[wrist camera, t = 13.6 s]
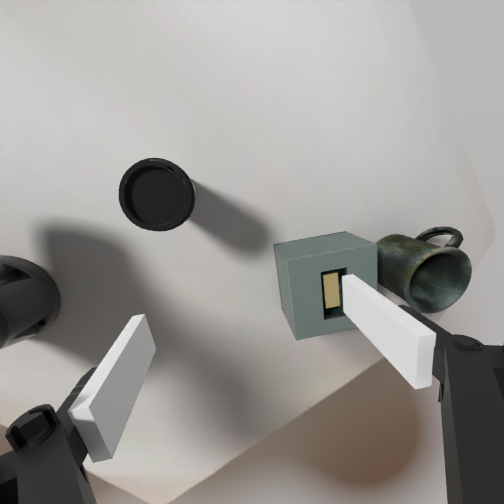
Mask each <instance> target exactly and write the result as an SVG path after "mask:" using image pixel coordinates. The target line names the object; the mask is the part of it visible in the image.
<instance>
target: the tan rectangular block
mask: <svg viewBox="0 0 504 504" xmlns="http://www.w3.org/2000/svg"><path fill="white" fill-rule="evenodd" d="M321 286H322V299H323V305H324V307H325V308H331V307H335V306H340V300H339V285H338V272H336V271H335V270H329V271H324V272H321Z"/></svg>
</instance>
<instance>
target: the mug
mask: <svg viewBox="0 0 504 504" xmlns="http://www.w3.org/2000/svg"><path fill="white" fill-rule="evenodd" d="M445 234H447V235H453V236H452V237H451V239H450V241H449V242H448V243H447V244H446V245H445V247H441V246H437V245H434V244H431V243H427V242H426V241H427V240H429V239H430V238H432V237H434V236H438V235H445ZM462 241H463V236H462V234H461V233H460V232H459V231H458V230H456V229H454V228H452V227H435V228H431V229H428V230H426V231H424V232H422V233H421V234H420V235H418V236H417V237H416V238H415V239H414V238H410V237H407V236H404V235H399V234H394V235H389V236H386V237H384V238H382V239H381V240H379V241H378V242H377V243H376V244H377V282H378V283H379V284H381V285H382V286H384V287H385V288H387V289H388V290H390V291H391V292H393V293H395V294H396V295H398V296H399V297H401V298H402V299H404V300H405V301H407V303H408V304H409V306H410V307H411V308H413V309H414V310H416V311H418V312H421V313H436V312H439V311H442V310H444V309H446V308H448V307H450V306H451V305H452V304H454V303H455V302H456V301H457V300H458V299H459V298H460V297H461V296H462V295H463V293H464V292H465V290H466V289H467V286H468V284H469V282H470V279H471V274H472V267H471V262H470V259H469V258H468V256H467V255H466V254H465V253H464V252H463V251H461V250H460V249H458V247H459V246H460V245H461V243H462Z"/></svg>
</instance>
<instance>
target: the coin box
mask: <svg viewBox="0 0 504 504" xmlns="http://www.w3.org/2000/svg"><path fill="white" fill-rule="evenodd" d="M274 250H275V258H276V265H277V273H278V281H279V288H280V296H281V304H282V310H283V312H284V314H285V317H286V319H287V321H288V323H289V325H290V328H291V330H292V332H293V334H294V336H295V338H296V340H301V339H305V338H310V337H315V336H320V335H325V334H330V333H334V332H339V331H344V330H349V329H354V328H358V327H357V326H356V325H355V324H354V323H353V322H352V320H351V319H350V318H349V317H348V316H347V315H346V314H345V313H344V311H343V288H342V276H345V275H351V274H353V275H355V276H356V277H358V278H359V279H360V280H362V281H363V282H365V283H366V284H367V285H369V286H370V287H372V288H373V289H374V290H376V291H377V244H375V243H373V242H370V241H368V240H365V239H363V238H360V237H358V236H355V235H353V234H350V233H348V232H339V233H334V234H328V235H323V236H317V237H311V238H306V239H300V240H295V241H289V242H283V243H278V244H274ZM329 270H335V271H336V272H338V285H339V300H340V306H335V307H331V308H325V307H324V305H323V299H322V286H321V272H324V271H329Z"/></svg>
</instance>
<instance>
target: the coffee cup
mask: <svg viewBox="0 0 504 504" xmlns="http://www.w3.org/2000/svg"><path fill="white" fill-rule="evenodd" d="M195 197H196V189H195V186H194V184H193V182H192V181H191V180H190V179H189V177H188V175H187V174H186V173H185V172H184V171H183V170H182V169H181V168H180V167H179V166H177V165H176V164H174V163H172V162H171V161H168V160H165V159H160V158H148V159H144V160H141V161H139V162H137V163H135V164H134V165H133V166H131V167H130V168H129V169H128V170H127V171H126V173H125V174H124V175H123V177H122V180H121V182H120V186H119V202H120V205H121V208H122V210H123V212H124V214H125V215H126V217H127V218H128V219H129V220H130V221H131V222H132V223H134V224H135V225H136V226H139V227H141V228H143V229H146V230H152V231H167V230H171V229H174V228H176V227H178V226H180V225H181V224H183V223H184V222H185V221H186V220H187V219H188V218H189V216H190V215H191V213H192V211H193V208H194V204H195Z"/></svg>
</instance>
